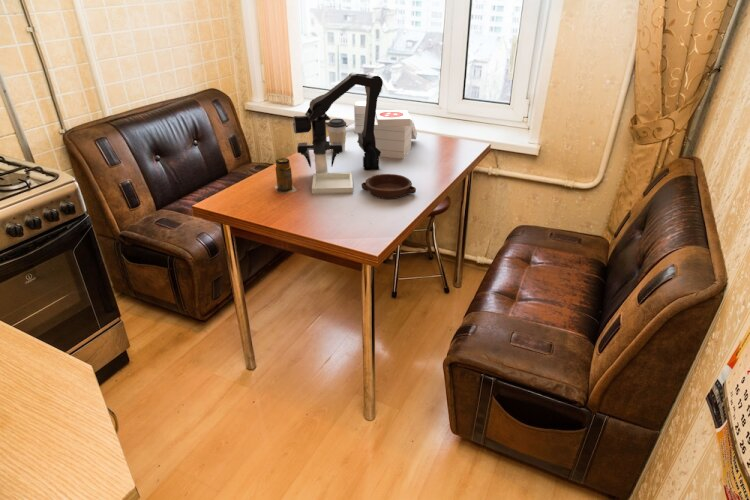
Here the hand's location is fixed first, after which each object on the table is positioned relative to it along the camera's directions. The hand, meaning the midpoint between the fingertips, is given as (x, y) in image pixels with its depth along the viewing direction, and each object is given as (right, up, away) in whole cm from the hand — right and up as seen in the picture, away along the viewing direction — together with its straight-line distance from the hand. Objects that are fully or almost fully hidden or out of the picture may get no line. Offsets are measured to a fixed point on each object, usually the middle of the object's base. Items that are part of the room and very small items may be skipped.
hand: (321, 166), depth 206 cm
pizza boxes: (+33, +14, +30) cm, 47 cm away
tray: (+6, -10, -10) cm, 15 cm away
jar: (0, -3, +2) cm, 3 cm away
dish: (+28, -13, -16) cm, 35 cm away
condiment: (-13, -11, -13) cm, 22 cm away
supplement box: (+17, +29, +55) cm, 65 cm away
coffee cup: (+5, +13, +28) cm, 31 cm away
